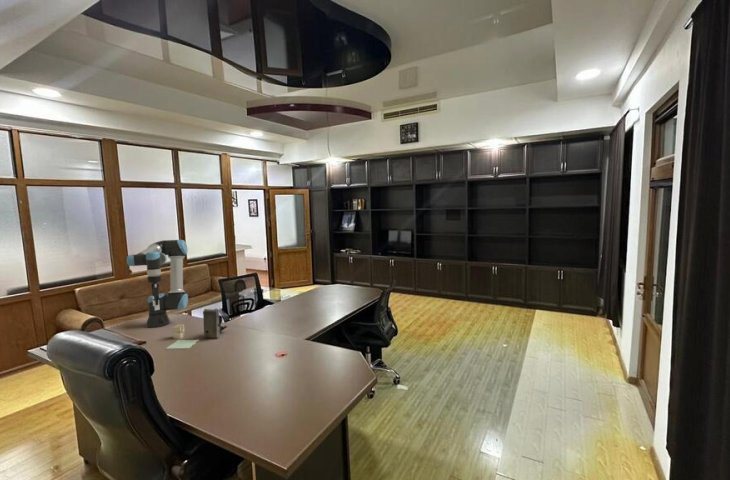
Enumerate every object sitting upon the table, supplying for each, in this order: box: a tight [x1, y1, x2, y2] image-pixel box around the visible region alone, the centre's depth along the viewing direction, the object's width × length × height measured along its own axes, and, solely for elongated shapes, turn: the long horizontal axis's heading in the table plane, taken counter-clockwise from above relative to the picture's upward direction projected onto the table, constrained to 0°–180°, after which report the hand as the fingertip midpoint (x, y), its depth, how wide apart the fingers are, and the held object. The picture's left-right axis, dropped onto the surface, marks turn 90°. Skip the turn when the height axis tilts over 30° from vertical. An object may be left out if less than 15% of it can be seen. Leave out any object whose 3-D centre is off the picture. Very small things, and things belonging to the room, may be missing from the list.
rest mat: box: [165, 339, 200, 350], centre depth 218 cm, size 14×14×1 cm
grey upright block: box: [202, 308, 228, 339], centre depth 234 cm, size 10×16×20 cm, turn 174°
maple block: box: [172, 324, 186, 340], centre depth 231 cm, size 5×5×8 cm
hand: (156, 307), depth 223 cm, fingers open, 13 cm apart
